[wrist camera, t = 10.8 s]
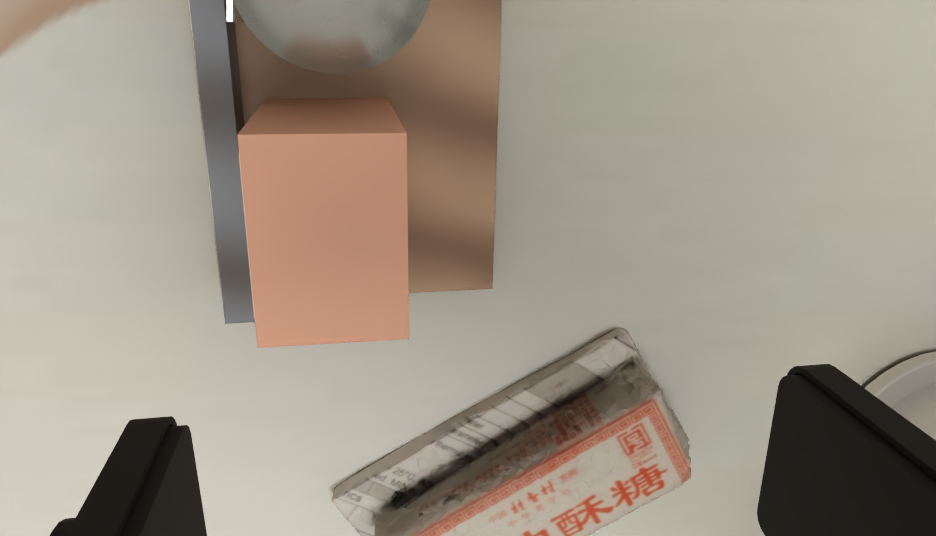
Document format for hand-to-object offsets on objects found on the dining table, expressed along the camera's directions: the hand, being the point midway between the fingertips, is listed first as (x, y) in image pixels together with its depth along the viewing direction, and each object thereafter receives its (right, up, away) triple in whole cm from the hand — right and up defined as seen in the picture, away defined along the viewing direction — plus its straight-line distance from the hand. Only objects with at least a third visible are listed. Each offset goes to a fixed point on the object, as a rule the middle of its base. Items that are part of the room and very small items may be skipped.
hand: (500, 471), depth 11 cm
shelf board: (-5, +10, +20) cm, 23 cm away
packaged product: (+2, -8, +29) cm, 30 cm away
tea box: (-6, +7, +20) cm, 22 cm away
